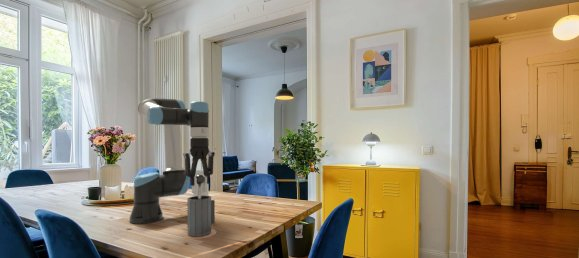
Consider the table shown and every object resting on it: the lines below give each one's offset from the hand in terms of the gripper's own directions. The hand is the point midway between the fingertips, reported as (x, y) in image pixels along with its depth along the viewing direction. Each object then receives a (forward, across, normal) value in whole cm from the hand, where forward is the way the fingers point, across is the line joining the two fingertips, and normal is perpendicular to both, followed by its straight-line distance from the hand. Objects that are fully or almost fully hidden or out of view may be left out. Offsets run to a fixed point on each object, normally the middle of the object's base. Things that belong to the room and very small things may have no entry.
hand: (199, 192), depth 121 cm
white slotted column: (+18, +9, +17) cm, 26 cm away
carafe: (+17, 0, 0) cm, 17 cm away
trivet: (+18, 0, 0) cm, 18 cm away
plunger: (+12, 0, 0) cm, 12 cm away
